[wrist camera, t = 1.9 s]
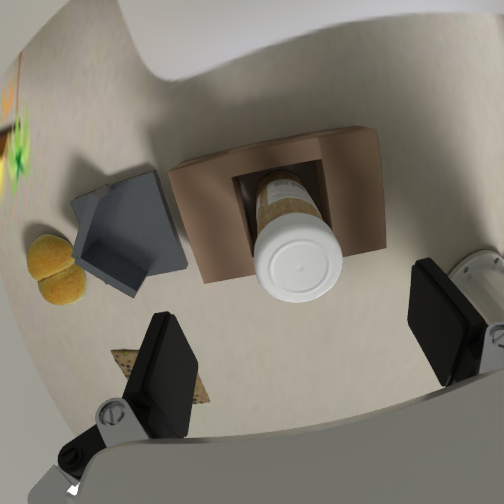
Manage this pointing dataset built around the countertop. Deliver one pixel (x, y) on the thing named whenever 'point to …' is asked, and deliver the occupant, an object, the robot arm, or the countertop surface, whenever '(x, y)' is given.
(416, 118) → the countertop surface
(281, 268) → the sprinkles bottle
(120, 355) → the cookie
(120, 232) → the v block
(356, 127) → the wooden block with hole
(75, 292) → the bread roll
